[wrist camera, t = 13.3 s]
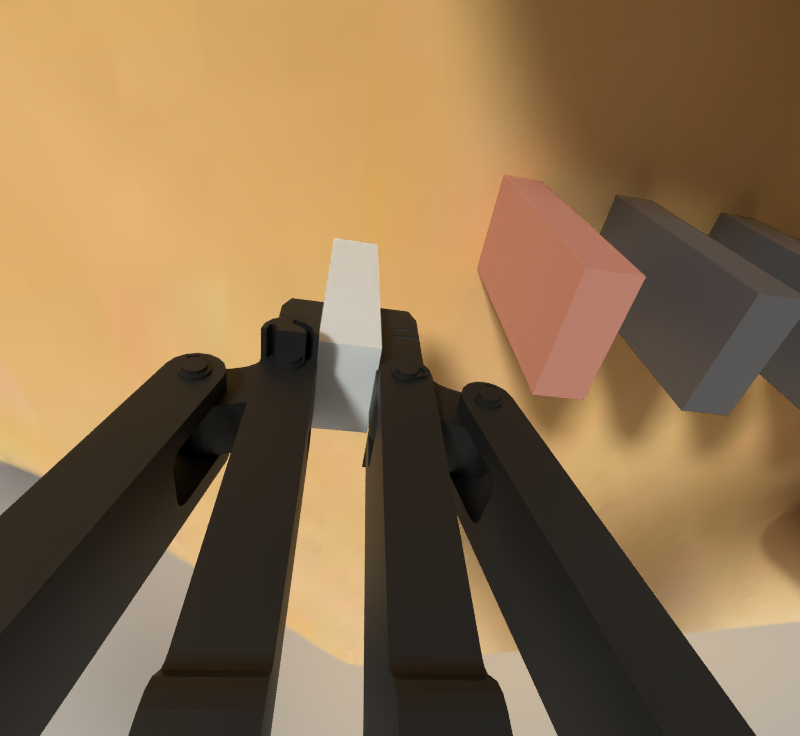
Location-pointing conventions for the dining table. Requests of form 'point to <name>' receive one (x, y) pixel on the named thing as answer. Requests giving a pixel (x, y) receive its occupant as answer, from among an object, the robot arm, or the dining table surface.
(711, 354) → the domino
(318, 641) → the dining table surface
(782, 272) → the domino
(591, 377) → the domino
